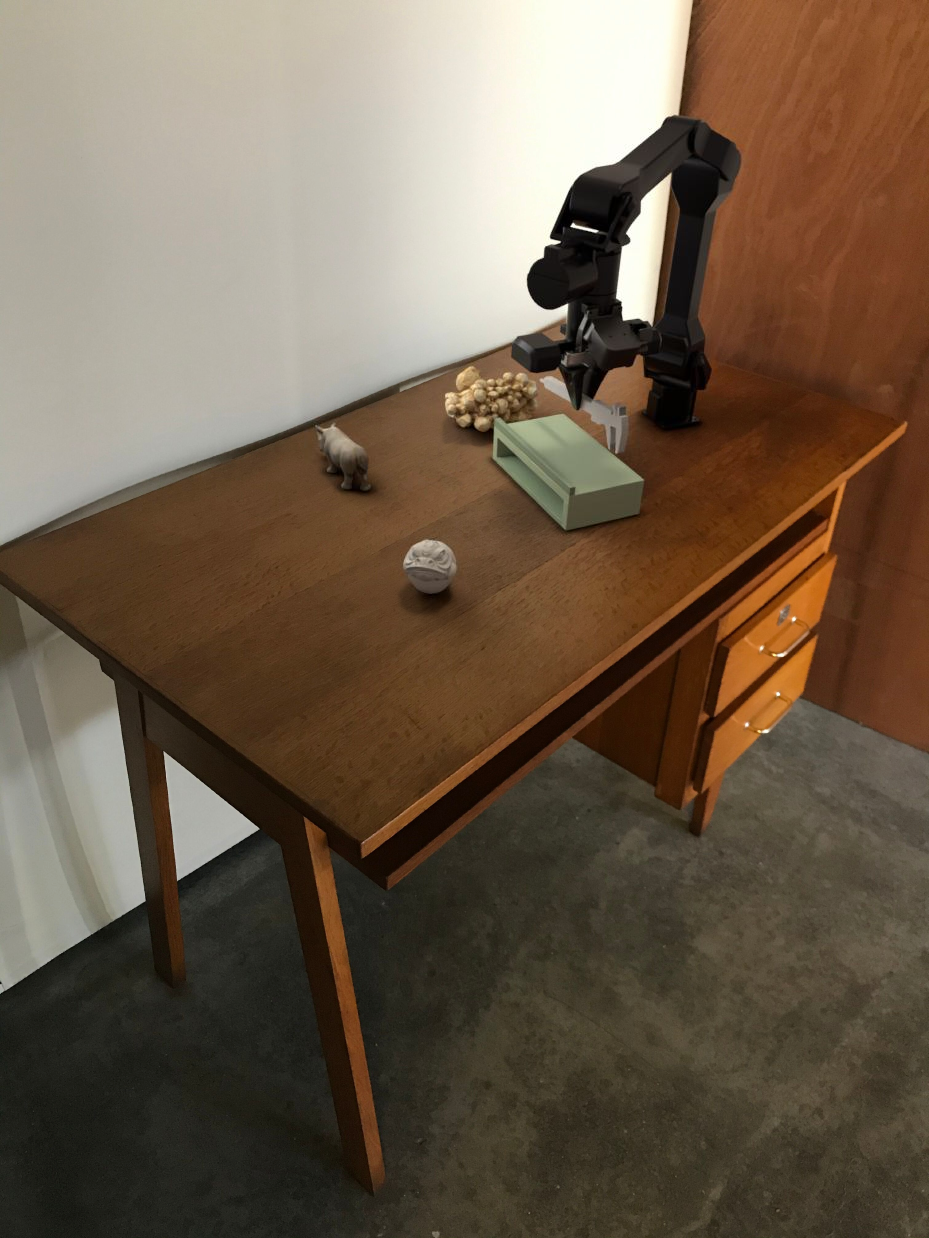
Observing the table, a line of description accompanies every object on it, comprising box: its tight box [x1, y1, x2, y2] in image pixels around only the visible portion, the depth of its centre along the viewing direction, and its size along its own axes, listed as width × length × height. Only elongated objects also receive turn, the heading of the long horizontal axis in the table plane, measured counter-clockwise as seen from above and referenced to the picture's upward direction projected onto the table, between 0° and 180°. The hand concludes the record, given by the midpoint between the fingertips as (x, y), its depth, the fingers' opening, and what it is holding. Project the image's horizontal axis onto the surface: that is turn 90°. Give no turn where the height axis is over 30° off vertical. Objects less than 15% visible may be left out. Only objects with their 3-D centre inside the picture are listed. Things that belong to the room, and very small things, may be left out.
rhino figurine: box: [315, 422, 371, 492], centre depth 136 cm, size 4×14×6 cm, turn 30°
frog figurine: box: [402, 539, 458, 595], centre depth 113 cm, size 6×7×7 cm
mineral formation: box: [444, 365, 540, 433], centre depth 148 cm, size 8×13×15 cm
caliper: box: [539, 375, 629, 455], centre depth 129 cm, size 20×1×6 cm, turn 26°
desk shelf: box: [492, 413, 645, 531], centre depth 134 cm, size 11×21×6 cm, turn 25°
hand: (580, 408), depth 130 cm, fingers closed on caliper, 1 cm apart
